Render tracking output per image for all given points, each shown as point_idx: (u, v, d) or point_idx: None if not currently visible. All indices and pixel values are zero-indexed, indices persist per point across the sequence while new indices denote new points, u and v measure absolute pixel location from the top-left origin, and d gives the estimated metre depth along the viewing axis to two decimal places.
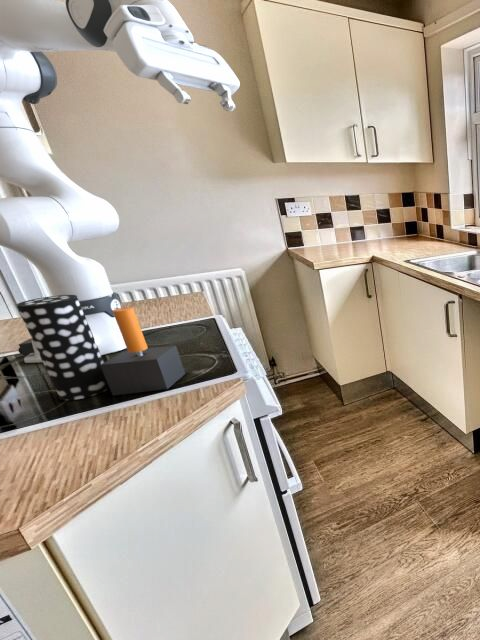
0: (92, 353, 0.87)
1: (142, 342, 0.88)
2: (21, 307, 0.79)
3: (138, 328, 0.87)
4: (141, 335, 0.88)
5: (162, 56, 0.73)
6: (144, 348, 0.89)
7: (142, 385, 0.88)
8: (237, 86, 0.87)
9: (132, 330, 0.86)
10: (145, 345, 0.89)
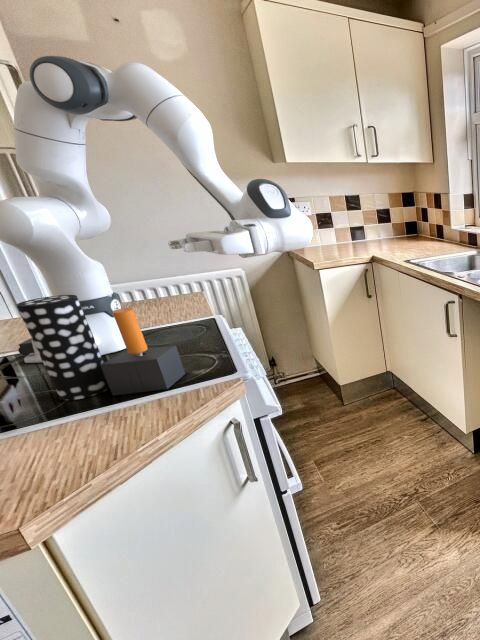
0: (92, 353, 0.87)
1: (142, 343, 0.88)
2: (21, 307, 0.79)
3: (138, 329, 0.87)
4: (141, 336, 0.88)
5: None
6: (144, 349, 0.88)
7: (142, 385, 0.88)
8: None
9: (132, 331, 0.86)
10: (145, 346, 0.89)
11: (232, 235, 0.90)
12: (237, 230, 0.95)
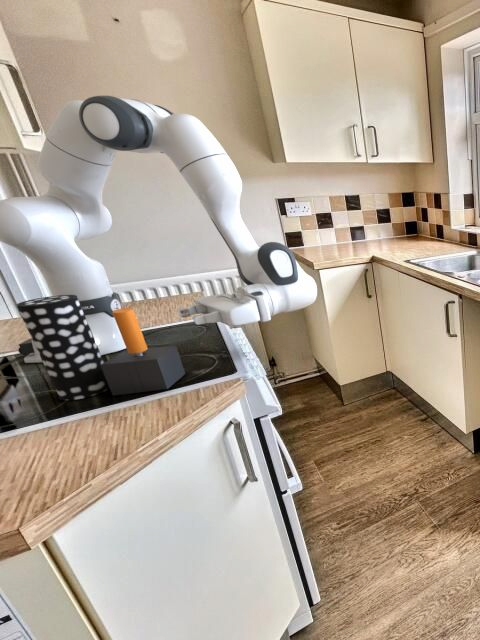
0: (92, 353, 0.87)
1: (142, 343, 0.88)
2: (21, 307, 0.79)
3: (138, 329, 0.87)
4: (141, 336, 0.88)
5: None
6: (144, 349, 0.88)
7: (142, 385, 0.88)
8: None
9: (132, 331, 0.86)
10: (145, 346, 0.89)
11: (240, 307, 0.94)
12: (244, 299, 0.99)
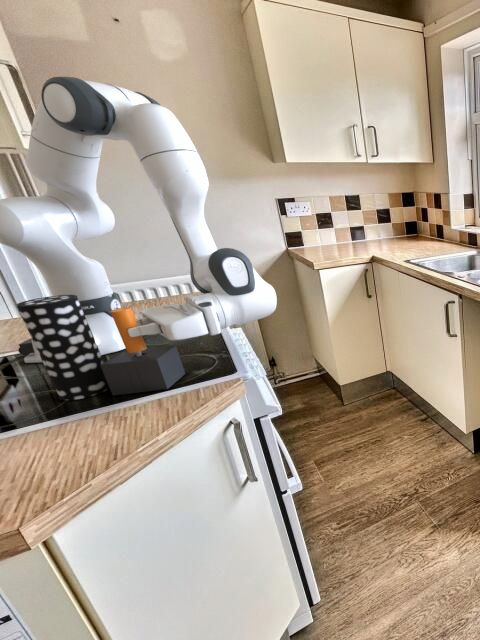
0: (92, 353, 0.87)
1: (141, 342, 0.88)
2: (21, 307, 0.79)
3: None
4: None
5: None
6: (143, 348, 0.89)
7: (142, 385, 0.88)
8: None
9: None
10: (144, 345, 0.89)
11: (183, 320, 0.86)
12: (191, 310, 0.91)
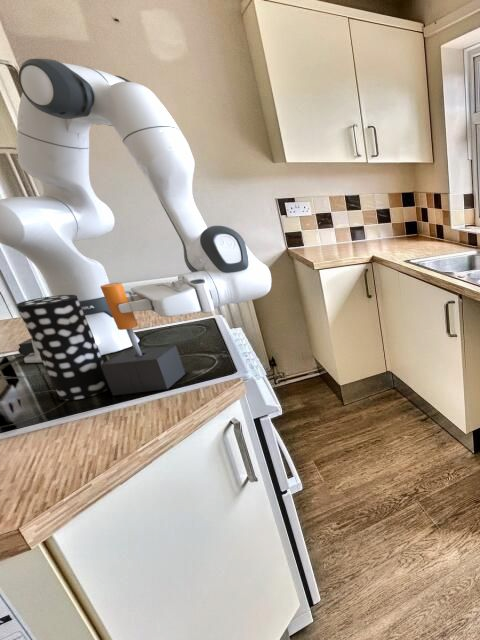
0: (92, 353, 0.87)
1: (132, 319, 0.86)
2: (21, 307, 0.79)
3: None
4: (131, 312, 0.86)
5: None
6: (134, 325, 0.87)
7: (142, 385, 0.88)
8: None
9: None
10: (135, 322, 0.87)
11: (175, 296, 0.84)
12: (183, 287, 0.89)
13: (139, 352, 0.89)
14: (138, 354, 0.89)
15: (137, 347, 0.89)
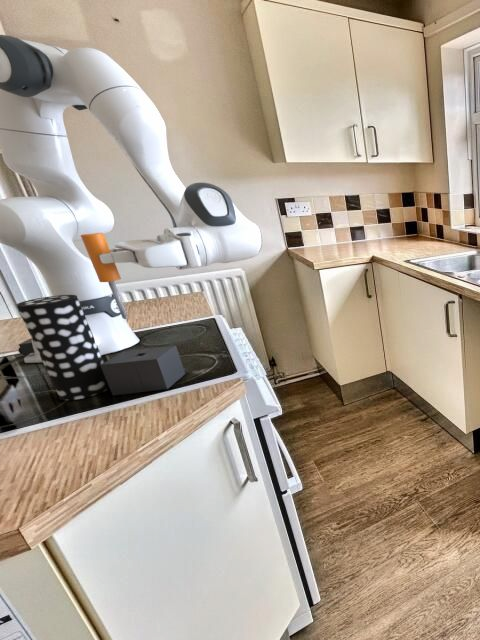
0: (92, 353, 0.87)
1: (114, 271, 0.83)
2: (21, 307, 0.79)
3: None
4: (113, 264, 0.83)
5: None
6: (117, 278, 0.83)
7: (142, 385, 0.88)
8: None
9: None
10: (118, 275, 0.84)
11: (159, 246, 0.81)
12: (168, 240, 0.86)
13: (122, 307, 0.85)
14: (121, 309, 0.85)
15: (120, 302, 0.85)
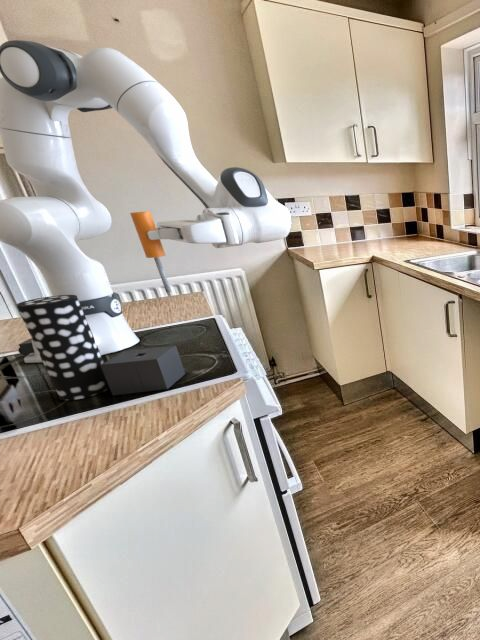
0: (92, 353, 0.87)
1: (160, 248, 0.88)
2: (21, 307, 0.79)
3: None
4: (159, 241, 0.88)
5: None
6: (162, 254, 0.89)
7: (142, 385, 0.88)
8: None
9: None
10: (163, 251, 0.89)
11: (202, 223, 0.86)
12: (209, 218, 0.91)
13: (166, 282, 0.91)
14: (165, 284, 0.91)
15: (164, 277, 0.90)
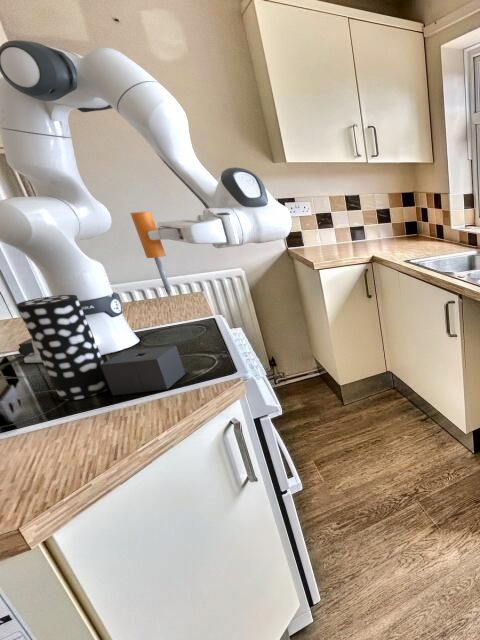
0: (92, 353, 0.87)
1: (160, 248, 0.88)
2: (21, 307, 0.79)
3: None
4: (159, 241, 0.88)
5: None
6: (162, 254, 0.89)
7: (142, 385, 0.88)
8: None
9: None
10: (163, 252, 0.89)
11: (203, 223, 0.86)
12: (209, 219, 0.91)
13: (166, 282, 0.91)
14: (165, 284, 0.91)
15: (165, 277, 0.91)
